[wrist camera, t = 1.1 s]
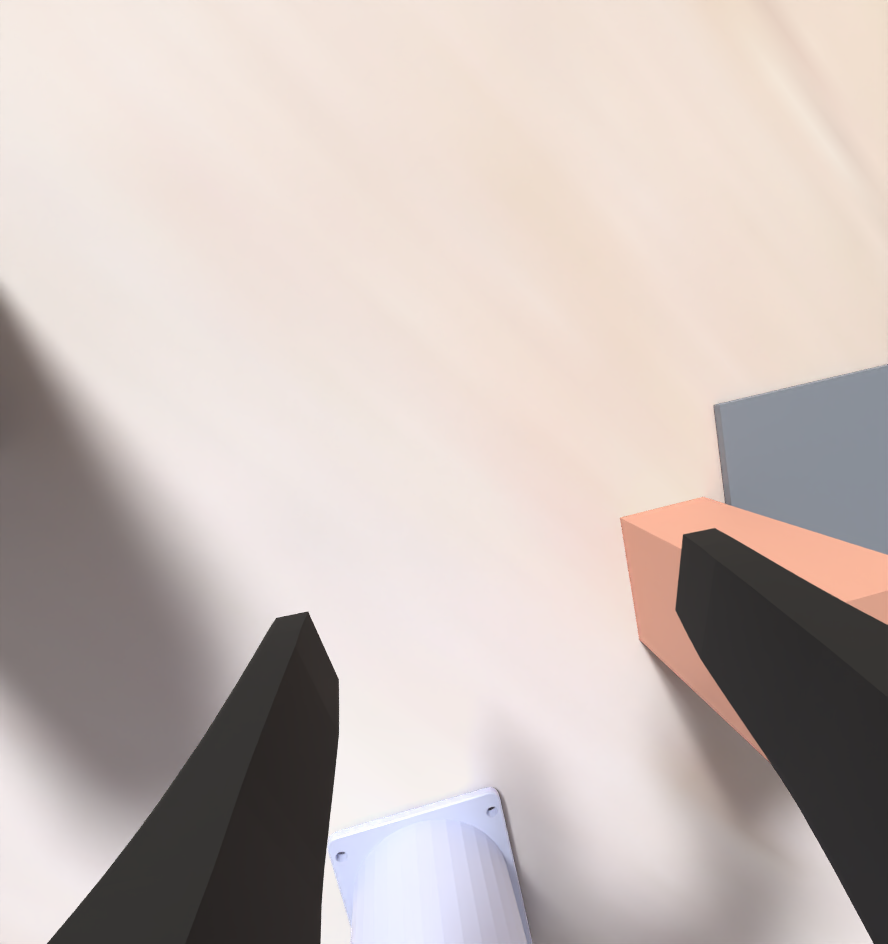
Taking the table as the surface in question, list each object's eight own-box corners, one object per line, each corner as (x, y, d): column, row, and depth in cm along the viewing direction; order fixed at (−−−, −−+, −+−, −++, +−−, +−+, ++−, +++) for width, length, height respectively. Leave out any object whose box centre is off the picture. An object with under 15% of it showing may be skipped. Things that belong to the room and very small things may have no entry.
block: (718, 617, 24) (955, 773, 14) (639, 639, 23) (825, 815, 14) (703, 496, 23) (947, 573, 13) (619, 517, 22) (806, 612, 13)
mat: (964, 625, 26) (973, 628, 25) (747, 688, 25) (753, 692, 24) (954, 348, 23) (964, 347, 23) (713, 405, 22) (719, 405, 22)
